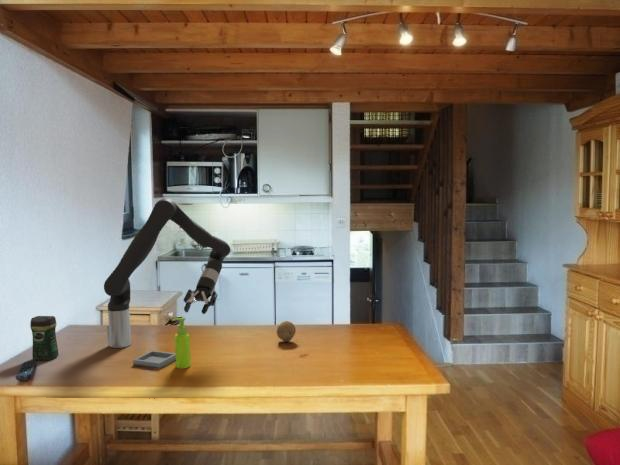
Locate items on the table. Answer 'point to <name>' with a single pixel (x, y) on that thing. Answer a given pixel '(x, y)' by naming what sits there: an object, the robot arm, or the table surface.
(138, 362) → the tray
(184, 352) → the soap dispenser
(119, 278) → the robot arm
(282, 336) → the natural sponge
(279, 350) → the table surface
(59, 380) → the table surface
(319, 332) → the table surface
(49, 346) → the coffee jar
